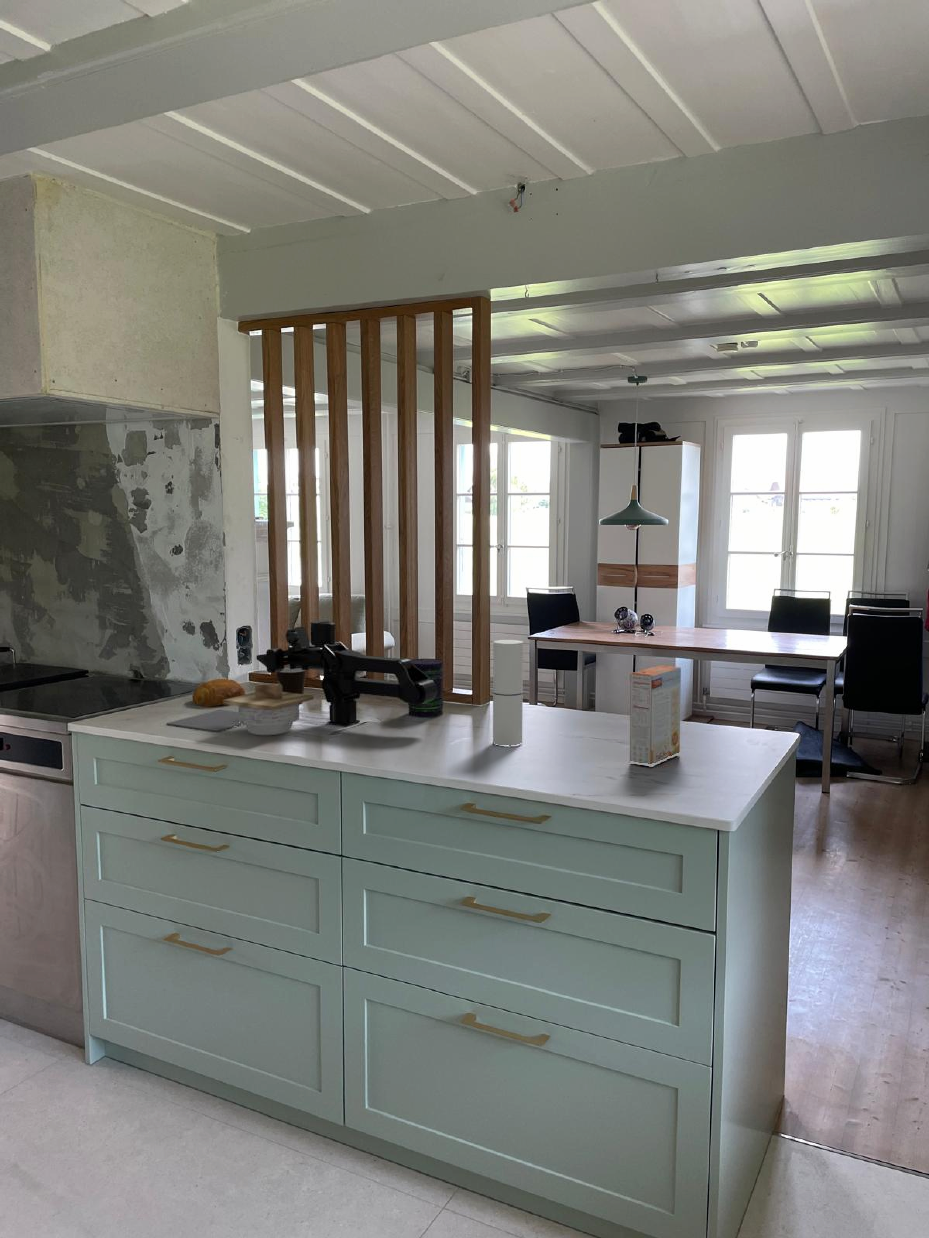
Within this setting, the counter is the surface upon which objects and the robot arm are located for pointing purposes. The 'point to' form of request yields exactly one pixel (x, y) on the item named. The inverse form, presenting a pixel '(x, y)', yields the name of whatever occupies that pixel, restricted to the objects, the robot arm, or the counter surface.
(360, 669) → the robot arm
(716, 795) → the counter surface
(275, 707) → the oak lid
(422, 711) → the storage jar
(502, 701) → the cylindrical container
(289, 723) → the paper bowls
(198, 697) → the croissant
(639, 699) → the cracker box
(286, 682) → the coffee mug
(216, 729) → the mat
